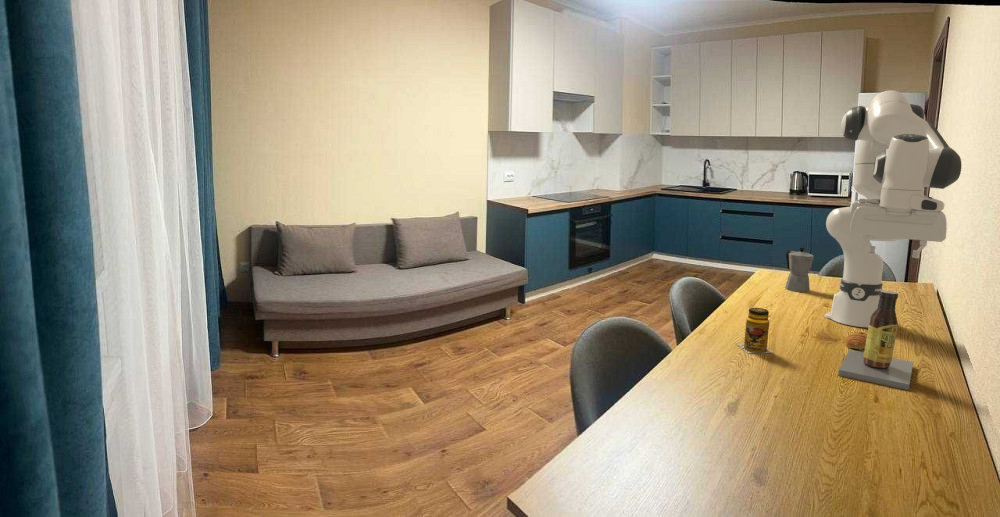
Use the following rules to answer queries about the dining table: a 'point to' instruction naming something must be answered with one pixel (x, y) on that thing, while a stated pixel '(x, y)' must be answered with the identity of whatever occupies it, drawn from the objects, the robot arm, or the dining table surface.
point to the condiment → (756, 331)
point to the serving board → (877, 371)
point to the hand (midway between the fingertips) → (892, 255)
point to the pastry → (856, 340)
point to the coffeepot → (798, 270)
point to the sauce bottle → (882, 332)
